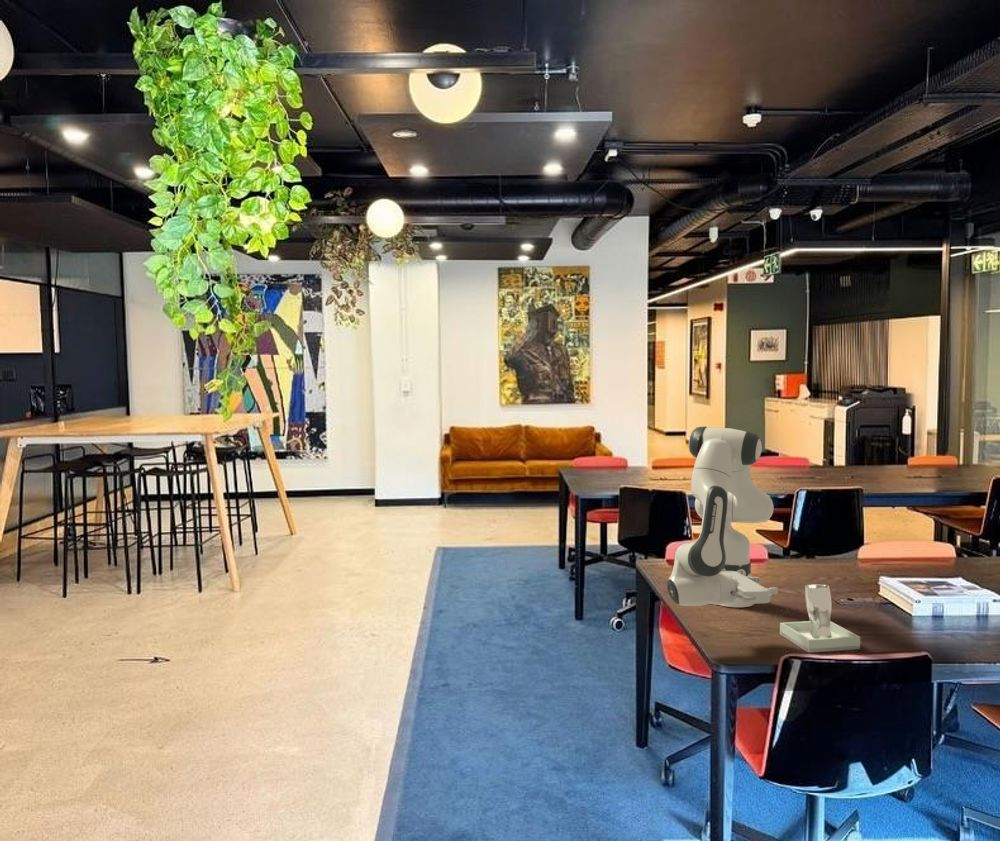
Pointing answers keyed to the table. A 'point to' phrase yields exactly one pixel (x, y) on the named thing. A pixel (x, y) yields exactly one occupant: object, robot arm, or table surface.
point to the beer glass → (819, 610)
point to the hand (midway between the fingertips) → (768, 585)
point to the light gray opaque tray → (801, 638)
